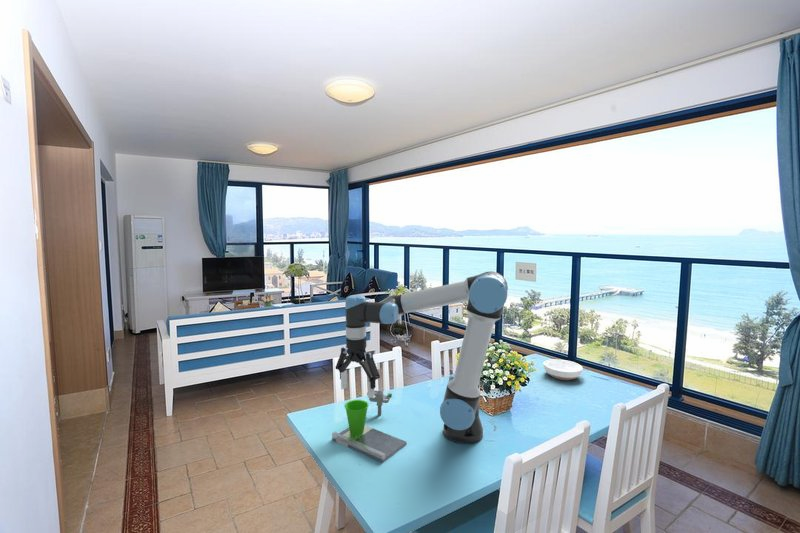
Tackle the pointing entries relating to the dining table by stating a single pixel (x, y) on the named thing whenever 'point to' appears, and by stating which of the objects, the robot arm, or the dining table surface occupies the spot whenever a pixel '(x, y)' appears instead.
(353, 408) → the cup
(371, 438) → the grey flat piece
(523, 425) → the dining table surface
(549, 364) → the bowl
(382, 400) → the mechanical component
